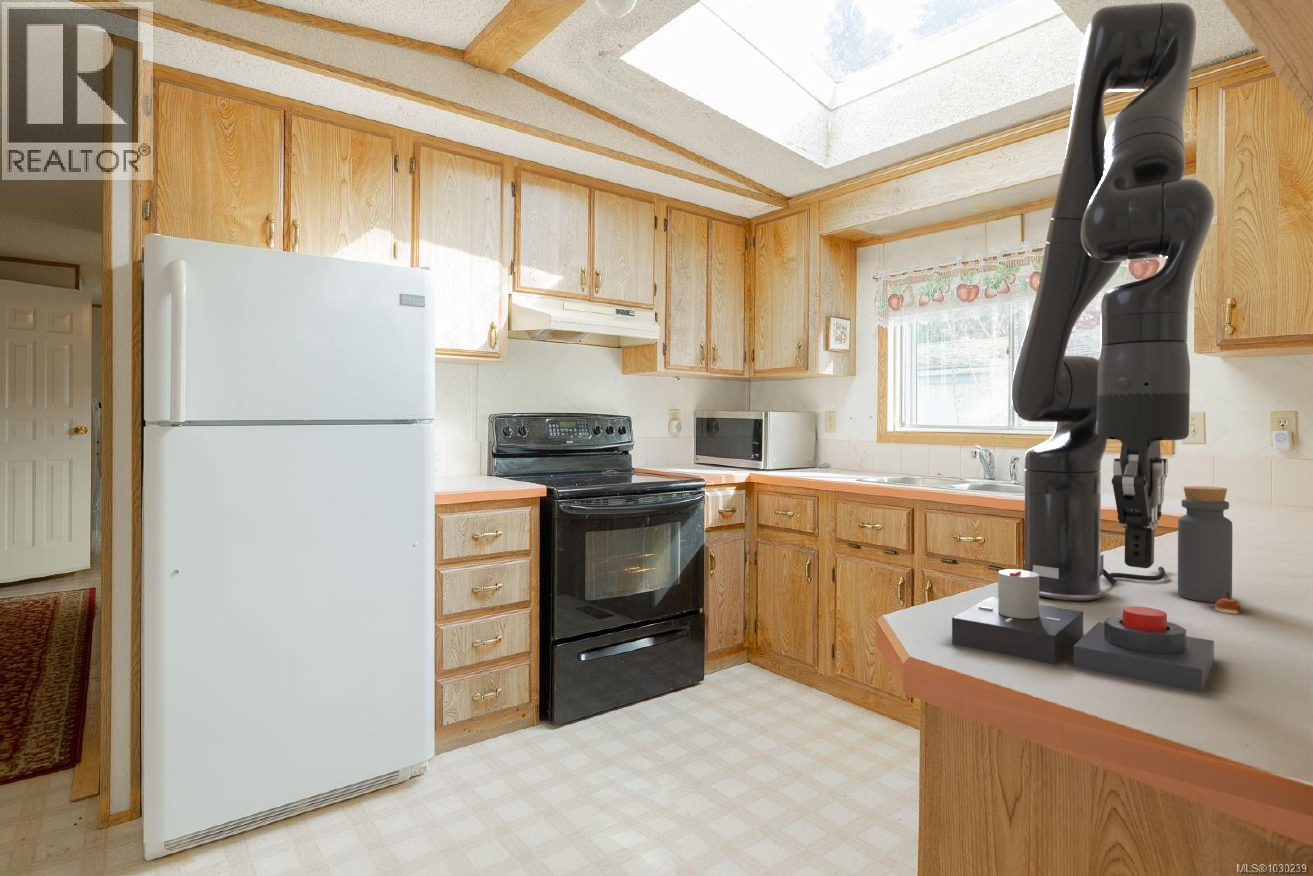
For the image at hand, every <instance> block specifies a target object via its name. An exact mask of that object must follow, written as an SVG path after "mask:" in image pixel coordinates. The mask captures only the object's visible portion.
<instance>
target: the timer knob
mask: <svg viewBox="0 0 1313 876" xmlns="http://www.w3.org/2000/svg"><path fill="white" fill-rule="evenodd" d="M997 574H998V575H997V576H998V579H997V582H998V583H997V584H998V586H997V592H998V593H997V595H998V596H997V598H998V612H999V613H1000V614H1002V615H1004V616H1008V617H1012V618H1020V619H1033V618H1038V617H1039V605H1040V596H1039V574H1037V573H1035V572H1031V571H1025V570H1024V569H1000V570H999V571H998V572H997Z"/></svg>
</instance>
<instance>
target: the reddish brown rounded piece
mask: <svg viewBox="0 0 1313 876" xmlns="http://www.w3.org/2000/svg"><path fill="white" fill-rule="evenodd" d="M1228 592H1229V591H1228V589H1226V593H1227V598H1226V599H1225V598H1223V599H1220V600H1218V601H1217V602H1214V610H1215V611H1218V612H1221V613H1228V614H1241V612H1242V610H1243V607H1242V605H1241V604H1240V603H1239V602H1238V600H1235V599H1230V596H1229V593H1228Z"/></svg>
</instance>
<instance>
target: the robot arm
mask: <svg viewBox="0 0 1313 876" xmlns="http://www.w3.org/2000/svg"><path fill="white" fill-rule="evenodd" d="M1196 35H1197V18H1196V14H1195V11H1194V9H1193V7H1192V6H1190V5H1189V4H1187V3H1184V2H1173V1H1172V2H1170V1H1169V2H1153V3H1136V4H1121V5H1110V6H1105V7H1104V6H1103V7H1102V8H1099V9H1098V10H1097V11H1096V12H1095V13H1094V14H1093V15H1092V17H1091V18H1090V20H1089V22H1088V25H1087V27H1086V30H1085V32H1084V37H1083V40H1082V45H1081V48H1080V56H1079V60H1078V68H1077V74H1076V82H1075V87H1074V95H1073V102H1072V109H1071V114H1070V115H1071V116H1070V123H1069V128H1068V129H1069V130H1068V138H1067V142H1066V148H1065V154H1064V159H1063V163H1062V168H1061V172H1060V177H1059V181H1058V185H1057V190H1056V194H1055V199H1054V203H1053V207H1052V211H1051V215H1050V219H1049V224H1048V230H1047V235H1046V239H1045V240H1046V241H1045V245H1044V252H1043V257H1042V263H1041V270H1040V274H1039V280H1038V284H1037V289H1036V294H1035V297H1034V302H1033V306H1032V309H1031V313H1030V316H1029V317H1030V318H1029V321H1028V323H1027V324H1028V325H1027V327H1026V331H1025V334H1024V337H1023V340H1022V343H1021V347H1020V350H1019V354H1018V357H1017V361H1016V364H1015V367H1014V371H1013V375H1012V381H1011V387H1010V397H1011V398H1010V399H1011V404H1012V407H1013V410H1014V412H1015V414H1016V415H1017V416H1018V417H1019V418H1020V419H1021V420H1024V421H1026V422H1032V423H1033V422H1034V423H1039V422H1040V423H1055V429H1054V433H1053V434H1052V435H1051V436H1050V437H1049V439H1047V440H1046V441H1044V442H1042V443H1040V444H1038V445H1036V446H1034V447H1031V448H1029V449H1028V450H1027V451H1026V452H1025V454H1024V561H1023V563H1024V564H1023V565H1024V566H1023V567H1024V569H1023V570H1025V571H1031V572H1035V573H1037V574H1039V597H1042V598H1048V599H1054V600H1063V601H1094V600H1097V599H1100V598H1101V597H1102V590H1101V577H1102V576H1103V577H1104V578H1105V579H1106V580H1107V581H1108V582H1109V583H1111V584H1115V583H1116V579H1127V580H1128V579H1129V580H1138V581H1146V582H1148V581H1149V582H1150V581H1151V582H1154V581H1161V580H1162V579H1163V578H1164V577H1165V576H1166V570H1165V568H1164V566H1158V567H1157V571H1158V574H1156V575H1143V574H1135V573H1134V574H1133V573H1125V572H1108V571H1107V570H1106V569H1105V568H1104V554H1102V552H1101V550H1102V549H1101V547H1102V546H1101V541H1102V540H1101V535H1102V533H1101V532H1102V531H1101V528H1102V527H1101V525H1102V524H1101V519H1102V518H1101V517H1102V516H1101V515H1102V513H1101V512H1102V511H1101V510H1102V506H1101V505H1102V494H1101V492H1102V489H1101V488H1102V486H1101V484H1102V483H1101V482H1102V481H1101V477H1102V473H1101V471H1102V467H1101V466H1102V460H1103V457H1104V455H1105V452H1106V449H1107V446H1108V440H1117V441H1120V443H1121V446H1120V455H1119V458H1114V459H1113V463H1112V464H1113V476H1112V478H1111V485H1112V489H1113V494H1114V501H1115V506H1116V512H1117V520H1118V523H1119V524H1120V525H1122V528H1123V529H1124V564H1125V565H1126V566H1127V567H1130V568H1131V567H1132V568H1140V569H1149V568H1150V567H1152V566H1153V565H1154V563H1155V529H1157V527H1158V525H1159V521H1160V519H1161V517H1162V506H1163V503H1164V502H1165V485H1166V478H1167V477H1168V473H1169V459H1168V458H1162V453H1161V444H1160V443H1161V441H1183V440H1185V439H1187V438H1188V437H1189V435H1190V404H1191V403H1190V401H1191V400H1190V399H1191V396H1190V395H1191V393H1190V392H1191V363H1190V362H1191V361H1190V355H1189V350H1188V349H1189V347H1188V325H1189V324H1188V320H1189V316H1188V314H1189V301H1190V300H1189V298H1190V292H1191V286H1192V280H1193V277H1194V273H1195V270H1196V266H1197V264H1198V260H1199V257H1200V255H1201V252H1202V249H1203V247H1204V244H1205V241H1206V239H1207V236H1208V233H1209V232H1210V228H1211V225H1212V222H1213V218H1214V214H1215V200H1214V197H1213V194H1212V192H1211V191H1210V189H1209V188H1208V186H1207V185H1205V183H1203V182H1202V181H1200V180H1197V179H1194V178H1183V177H1184V175H1185V171H1186V154H1185V153H1186V152H1185V151H1186V150H1185V139H1184V138H1185V137H1184V136H1185V135H1184V113H1185V106H1186V101H1187V96H1188V91H1189V86H1190V85H1189V84H1190V79H1191V75H1192V74H1191V73H1192V67H1193V66H1192V65H1193V59H1194V51H1195V45H1196V38H1197V37H1196ZM1111 92H1112V93H1113V92H1114V93H1115V92H1116V93H1117V92H1140V94H1138V95H1137V96H1136V97H1135V98H1133V99H1132V100H1131V101H1130V102H1128V103H1127V104H1126V105H1125V106H1124V107H1123V108H1122V109H1121V111H1119V112H1118V114H1117V115H1116V116H1115V117H1114V119H1113V121H1111V123H1110V125H1109V127H1108V129H1107V127H1106V120H1105V113H1104V112H1105V110H1104V109H1105V108H1104V98H1105V93H1111ZM1155 258H1156V259H1158V258H1165V261H1164V264H1163V266H1162V268H1160V269H1159V271H1157V272H1156V273H1154V274H1152V275H1151V276H1148V277H1146V278H1142V279H1138V280H1135V281H1131V282H1127V283H1124V284H1120V285H1118V286H1115V287H1112V288H1110V289H1108V290H1107V291H1106V292H1105V293H1104V294H1103V296H1102V299H1101V306H1100V349H1099V351H1100V352H1099V358H1098V359H1097V358H1096V357H1093V356H1089V355H1066V351H1067V348H1068V344H1069V342H1070V338H1071V334H1072V332H1073V330H1074V327H1075V325H1076V324H1077V321H1078V320H1079V319H1080V317H1081V315H1082V314H1083V312H1084V311H1085V310H1086V308H1087V307H1088V306H1089V305H1090V304H1091V302H1092V301H1093V300H1094V299H1095V298H1096V297H1097V295H1099V293H1100V292H1101V291H1102V290H1103V289H1104V288H1105V286H1106V285H1107V284H1108V282H1109V281H1110V280H1111V279H1112V277H1113V276H1114V275H1115V273H1116V272H1117V271H1118V269H1119V268H1120V267H1121V264H1122V262H1127V261H1128V262H1129V261H1138V260H1148V259H1155Z"/></svg>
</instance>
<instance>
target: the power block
mask: <svg viewBox="0 0 1313 876" xmlns="http://www.w3.org/2000/svg"><path fill="white" fill-rule="evenodd" d="M1072 649H1073V653H1072V656H1073V659H1072V661H1073V666H1072V667H1073V668H1076V669H1081V670H1088V671H1092V672H1097V673H1102V674H1107V675H1110V676H1111V675H1112V676H1116V677H1121V678H1125V679H1131V680H1137V681H1141V682H1146V683H1152V684H1156V685H1161V686H1165V687H1169V688H1171V687H1172V688H1175V689H1176V688H1177V689H1180V690H1186V691H1189V692H1190V691H1192V692H1196V693H1202V692H1203V691H1204V687H1205V685H1206V683H1207V680H1208V678H1209V674H1210V672H1211V670H1212V667H1213V665H1214V662H1215V641H1214V640H1213V639H1207V638H1199V637H1194V636H1187V629H1186V628H1184V627H1182V626H1181V625H1179V624H1178V623H1177V624H1176V623H1174V622H1170V621H1167V631H1145V630H1139V629H1133V628H1130V627H1126V626H1123V615H1118V616H1110V617H1107V618H1106V619H1105V620H1104V622H1098V621H1097V623H1096V624H1095V625H1094V626H1093V627H1092V628H1091V629H1089V630H1088V632H1086V633H1085V634H1084V635H1083V637H1082V638H1081V639H1080V640H1079V641H1078V642H1077V643H1076V644H1075V645H1074V646H1073V648H1072Z"/></svg>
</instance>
